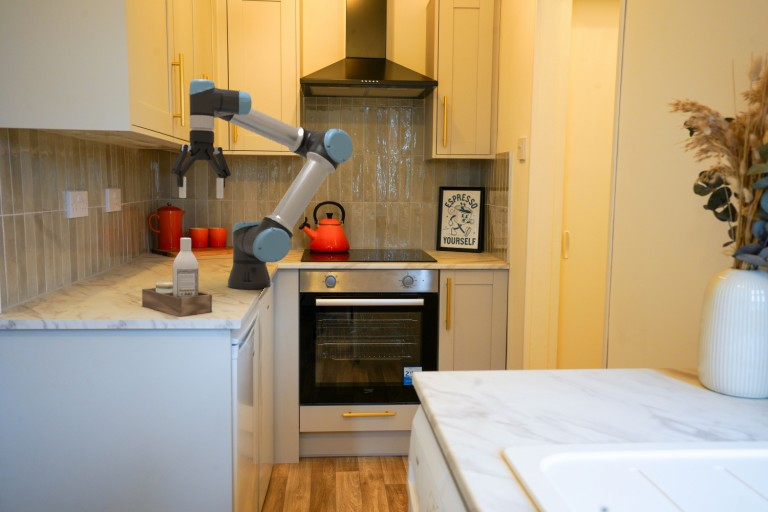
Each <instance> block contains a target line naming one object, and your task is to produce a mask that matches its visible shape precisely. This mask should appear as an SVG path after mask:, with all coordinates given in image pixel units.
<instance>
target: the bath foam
mask: <svg viewBox="0 0 768 512" xmlns="http://www.w3.org/2000/svg"><path fill="white" fill-rule="evenodd" d="M179 240H180V241H179V242H180V245H179V246H180V247H179V248H180V251H179V252H178V253H177V255H176V257H175V258H174V261H173V263H172V265H173V266H172V281H173V296H174V297H178V298H184V297H193V296H198V292H199V263H198V260H197V258H196V256H195V254H194V253H193V251H192V238H191V237H180V239H179Z"/></svg>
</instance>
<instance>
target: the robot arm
mask: <svg viewBox="0 0 768 512" xmlns="http://www.w3.org/2000/svg"><path fill="white" fill-rule="evenodd" d="M188 91H189V94H188V96H189V129H191V130H190V131H189V143H190V144H189V145H188V144H180V147H179V148H180V149H179V152H178V155H177V158H176V160H175V162H174V164H173V166H172V168H171V170H170V173H171V174H172V175H174V176H175V177H176V186H177V188H178V189H179V190H178V194H179V196H178V197H179V199H186V198H187V177H186V176H185V175H186V173H187V172H188V170H189V169H190V168H191V166H193V164H194V162H195V161H206V162H208V163H209V165H210V166H211V168H212V169H213V171H214V172H215V173H216V175H217V176H218V177H216V199H224V189H226V179H227V178H228V177H231V175H232V173H231V171H230V168H229V166H228V164H227V161H226V158H225V156H224V151H223V147H222V146H215V147H214V144H215V132H214V130H215V118H217V119H220V120H223V121H226V122H228V123H230V124H232V125H235V126H237V127H239V128H242V129H244V130H247V131H249V132H251V133H254V134H256V135H259V136H261V137H263V138H266V139H267V140H270V141H272V142H275V143H277V144H280V145H282V146H283V147H287V148H288V150H289V151H290V152H292V153H294V154H296V155H298V156H300V157H302V158H305V159H306V162H305V163H304V164H303V166H302V168H301V170H300V171H299V173H298V174H297V175H296V177H295V178H294V180H293V182H291V184H290V186H289V187H288V189H287V191H286V192H285V194H284V195H283V197H282V198H281V200H280V201H279V203H278V204H277V205H276V207H275V209H274V210H273V211H272V213H271V214H269V215H265V216H264V217H263V218H262V220H261V221H240V222H235V223H234V225H233V230H232V267H231V269H230V273H229V277H228V279H227V287H228V288H231V289H236V290H237V289H238V290H261V289H262V290H263V289H267V288H270V287H271V284H272V283H271V281H272V280H271V277H270V273H269V270H268V267H267V263H277V262H280V261H282V260H283V259H284V258H285V257H287V255H288V254H289V252H290V249H291V245H292V244H291V239H292V237H293V236H294V231H293V228H294V227H295V225H296V224H297V222H298V221H299V219H300V218H301V216H302V214H303V213H304V211H305V210H306V208H307V206H308V205H309V204H310V202H311V201H312V200H313V198H314V196H315V195H316V193H317V191H318V190H319V188H320V187H321V186H322V184H323V182H324V181H325V179H326V178H327V176H328V175H329V174H334V173H336V171H337V169H338V167H340V165H341V164H342V163H345V162H347V161H348V160H349V159H350V158H351V157H352V154H353V150H354V146H353V140H352V138H351V136H350V135H349V134H348V132H346V131H345V130H343V129H340V128H330V129H321V130H313V129H312V130H311V129H307V128H304V127H302V126H297V127H296V126H295V127H294V126H293V125H290V124H288V123H286V122H284V121H281V120H279V119H277V118H274V117H272V116H270V115H268V114H266V113H264V112H261V111H259V110H257V109H254V108H252V104H253V103H252V96H251V94H250V93H249V92H247V91H242V90H233V89H227V88H226V89H223V88H218V87H216V86H215V82H214V81H213V80H209V79H203V78H202V79H201V78H197V79H195V78H194V79H192V80H191V81H190V83H189V90H188ZM189 152H190V154H189V155H188V153H189ZM214 154H215V155H214ZM187 155H188V157H187ZM186 158H187V159H186ZM185 159H186V160H185Z"/></svg>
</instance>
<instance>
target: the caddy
mask: <svg viewBox="0 0 768 512" xmlns="http://www.w3.org/2000/svg"><path fill="white" fill-rule="evenodd" d="M141 299H142V300H141V301H142V303H141V306H142V307H145V308H149V309H150V310H151V309H152V310H155V311H158V312H161V313H166V314H169V315H173V316H175V317H186V316H192V315H201V314H207V313H212V312H213V295H212V294H211V293H207V292H206V293H205V292H202V291H198V296H193V297H184V298H178V297H174V296H173V292H169V293H158V292H156V287H152V288H149V287H148V288H142V290H141Z"/></svg>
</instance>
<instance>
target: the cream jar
mask: <svg viewBox="0 0 768 512" xmlns="http://www.w3.org/2000/svg"><path fill="white" fill-rule="evenodd" d="M154 285H155V286H154V288H156V292H158V293H169V292H173V280H159V281H155V283H154Z"/></svg>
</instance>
